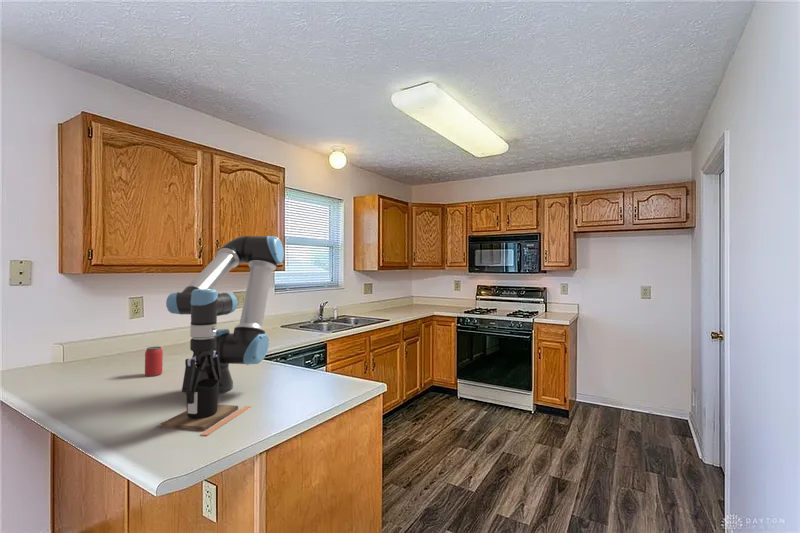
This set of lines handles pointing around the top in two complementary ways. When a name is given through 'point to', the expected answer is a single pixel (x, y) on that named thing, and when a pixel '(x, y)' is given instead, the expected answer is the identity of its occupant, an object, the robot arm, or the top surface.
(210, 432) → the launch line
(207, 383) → the pen holder
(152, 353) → the beer can
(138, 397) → the top surface
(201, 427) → the board
